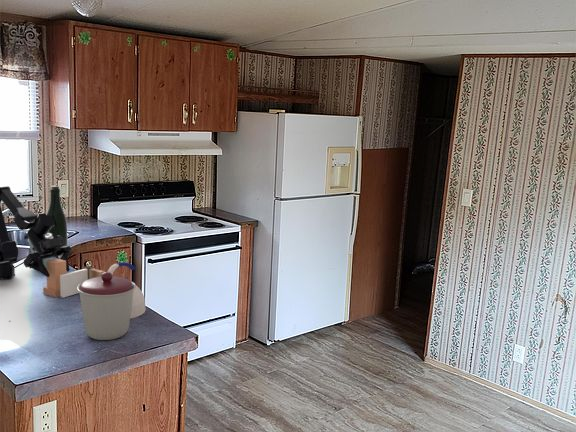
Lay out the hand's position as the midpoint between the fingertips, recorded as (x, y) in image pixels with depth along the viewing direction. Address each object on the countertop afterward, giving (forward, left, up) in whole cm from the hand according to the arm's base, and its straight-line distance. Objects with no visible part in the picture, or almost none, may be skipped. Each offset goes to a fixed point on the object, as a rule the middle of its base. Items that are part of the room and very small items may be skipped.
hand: (59, 273), depth 223 cm
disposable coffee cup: (-18, +35, -8) cm, 40 cm away
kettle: (+25, -17, -8) cm, 32 cm away
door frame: (+7, +7, -8) cm, 13 cm away
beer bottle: (-19, +61, -8) cm, 64 cm away
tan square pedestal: (-1, +1, -8) cm, 8 cm away
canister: (+26, -39, -8) cm, 48 cm away
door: (+5, 0, -8) cm, 9 cm away
